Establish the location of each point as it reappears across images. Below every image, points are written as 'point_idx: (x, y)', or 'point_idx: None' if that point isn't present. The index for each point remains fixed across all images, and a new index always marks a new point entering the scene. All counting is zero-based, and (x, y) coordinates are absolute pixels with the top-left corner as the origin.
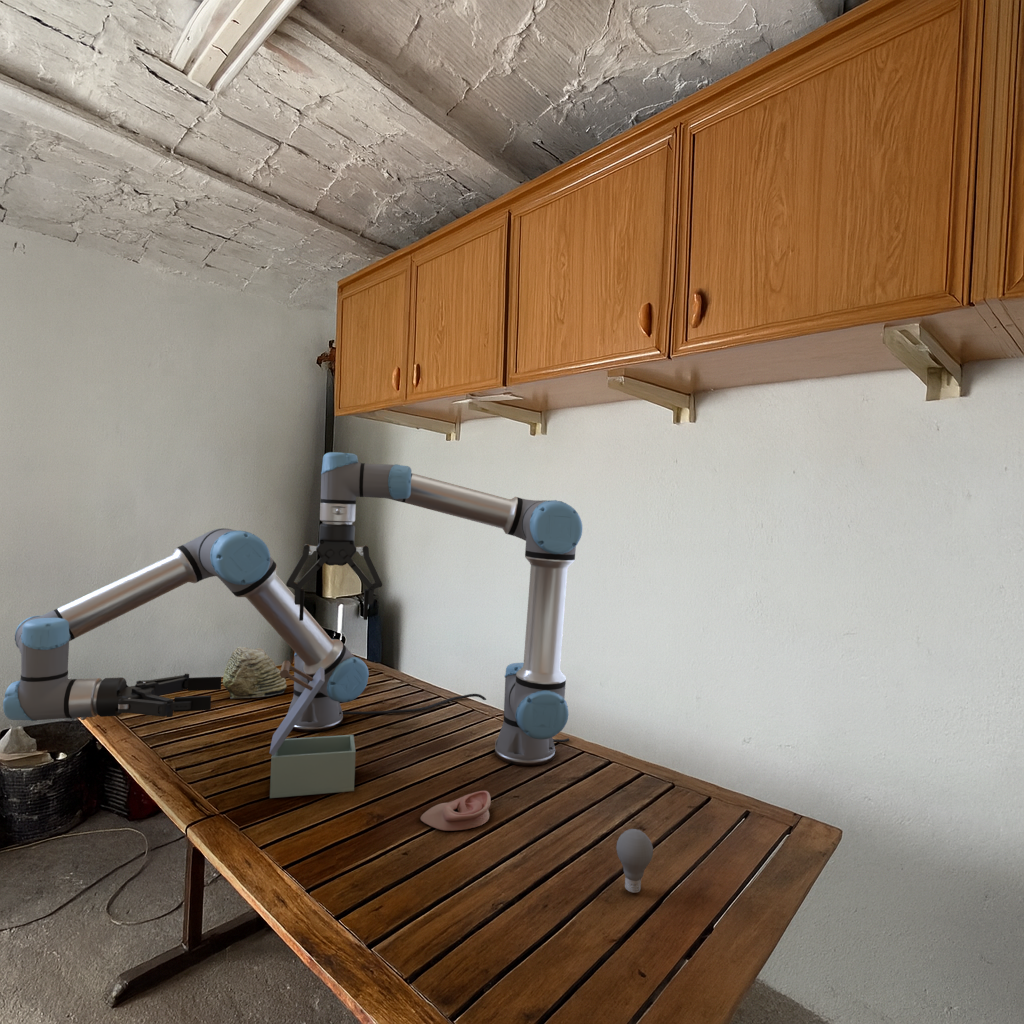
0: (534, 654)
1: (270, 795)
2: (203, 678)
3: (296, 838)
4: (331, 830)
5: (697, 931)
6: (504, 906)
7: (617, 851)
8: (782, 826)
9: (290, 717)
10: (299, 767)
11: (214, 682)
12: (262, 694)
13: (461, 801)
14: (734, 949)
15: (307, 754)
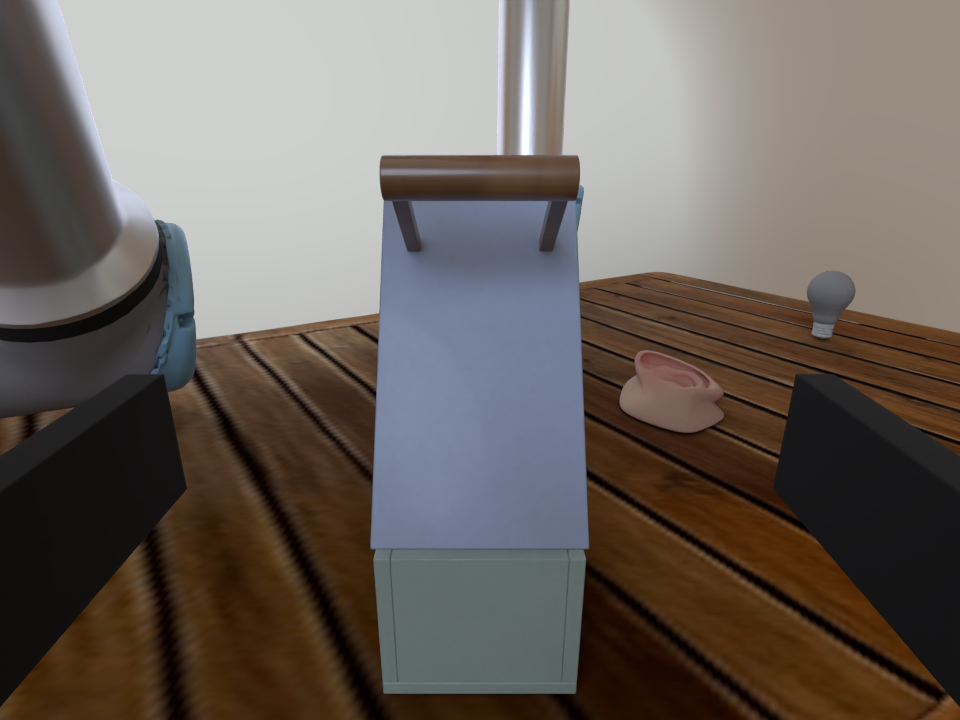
0: (556, 122)
1: (576, 683)
2: (48, 464)
3: (837, 611)
4: (765, 546)
5: (873, 329)
6: (916, 399)
7: (838, 298)
8: (655, 280)
9: (509, 395)
10: None
11: (140, 450)
12: None
13: (662, 377)
14: (890, 323)
15: None
